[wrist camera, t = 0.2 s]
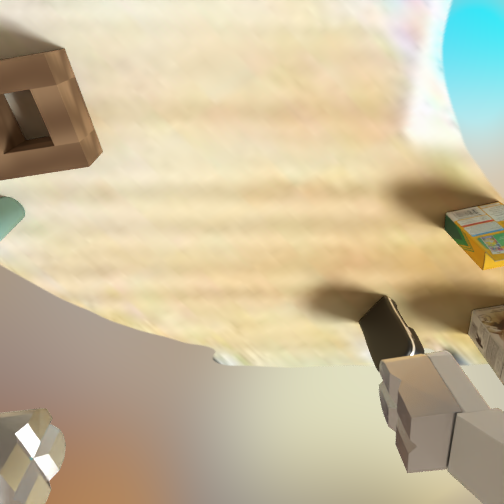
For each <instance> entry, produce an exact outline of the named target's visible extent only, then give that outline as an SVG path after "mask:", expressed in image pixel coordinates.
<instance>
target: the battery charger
mask: <svg viewBox="0 0 504 504" xmlns="http://www.w3.org/2000/svg"><path fill="white" fill-rule="evenodd" d="M359 324H360V326H361V329H362V331H363V334H364V336H365V340H366V343H367V346H368V349H369V351H370V354H371V357H372V359H373V362H374V364H375V366H376V368H377V370H378V371H379V365H380V361H381V360H384V359H391V358H397V357H404V356H411V355H417V354H424V349H423V346H422V344H421V342H420V340H419V338H418V336H417V335H416V333H415V331H414V330H413V329H412V328H410V327H408V326H407V324H406V323H405V321H404V320H403V318H402V316H401V315H400V313H399V311H398V309H397V305H396V303H395V302H394V301H393V300H392V299H390V298H389V297H383V298H382V299H381V300H380V301H379V302H377V303H376V304H375V305H374V306H373V307H372V308H371V309H370V310H369V311H368V312H367V313H366V315H365V316H364V317H363V318H362V319H361V320H360V321H359Z"/></svg>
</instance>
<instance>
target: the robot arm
mask: <svg viewBox="0 0 504 504" xmlns="http://www.w3.org/2000/svg"><path fill="white" fill-rule="evenodd" d="M379 372H380V375H381V377H382V379H383V382H382V383H381V384H380V385H379V395H380V401H381V406H382V410H383V414H384V417H385V419H386V422H387V424H388V426H389V427H390V428H391V429H392V430H394V431H395V432H396V446H397V449H398V451H399V454H400V456H401V458H402V461H403V463H404V466H405V468H406V470H407V473H413V472H423V471H433V470H443V469H448V472H449V473H450V474H451V475H452V476H453V477H454V478H455V479H456V480H458V481H459V482H460V483H461V484H462V485H463V486H464V487H465V488H466V489H468V490H469V491H470V492H471V493H472V494H473V495H475V497H476V498H478V499H479V500H480V501H481V502H482V503H483V504H504V411H502V410H500V409H499V408H494V409H491V408H490V407H489V406H488V404H487V403H486V402H485V400H484V399H483V398H482V396H481V395H480V393H479V392H478V390H477V389H476V388H475V386H474V385H473V384H472V382H471V381H470V380H469V378H468V377H467V375H466V374H465V372H464V371H463V370H462V369H461V367H460V366H459V364H458V363H457V361H456V360H455V359H454V357H453V356H452V355H451V353H449V352H448V351H446V350H445V351H439V352H432V353H425V354H417V355H411V356H404V357H397V358H391V359H384V360H381V361H380V365H379ZM51 420H52V416H51V415H50V413H49V412H48V411H47V409H32V410H23V411H14V412H5V413H0V504H45V502H46V500H47V498H48V496H49V493H50V491H51V487H50V483H49V480H50V479H51V478H52V477H53V476H54V475H55V474H56V473H57V472H58V471H59V469H60V467H61V465H62V462H63V460H64V455H65V446H66V445H65V439H64V435H63V434H62V432H61V430H60V429H58V428H56V427H54V426H53V425H51V424H50V423H51Z"/></svg>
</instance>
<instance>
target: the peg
mask: <svg viewBox="0 0 504 504" xmlns="http://www.w3.org/2000/svg"><path fill="white" fill-rule="evenodd" d="M24 216H25V211H24V208H23V206H22V205H21V204H20V203H19V202H18V201H16V200H15V199H13V198H9V197H1V198H0V241H1V240H2V239H3V238H4V237H5V236H6V235H7V234H8V233H9V232H10V231H11V230H12V229H13V228H14V227H15V226H16V225H17V224H18V223H19V222H20V221H21V220H22V219H23V218H24Z"/></svg>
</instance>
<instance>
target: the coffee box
mask: <svg viewBox="0 0 504 504" xmlns="http://www.w3.org/2000/svg"><path fill="white" fill-rule="evenodd" d="M468 335H469V336H470V338H471V339H472V340H473V342H474V343H475V345H476V346H477V348H478V349H479V350H480V352H481V353H482V355H483V356H484V358H485V359H486V360H487V362H488V363H489V365H490V366H491V367H492V369H493V370H494V372H495V373H496V375H497V376H498V378H499V379H500V380H501V382H502V383H503V385H504V305H501V306H495V307H489V308H482V309H476V310H473V311H472V316H471V321H470V326H469V332H468Z"/></svg>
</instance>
